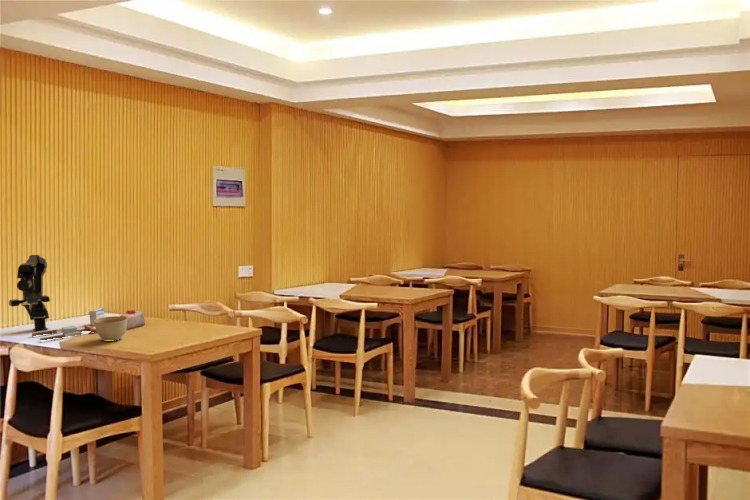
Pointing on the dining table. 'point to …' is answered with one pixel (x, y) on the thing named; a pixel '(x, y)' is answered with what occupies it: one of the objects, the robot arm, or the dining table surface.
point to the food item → (134, 319)
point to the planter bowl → (111, 327)
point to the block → (69, 330)
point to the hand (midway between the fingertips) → (30, 316)
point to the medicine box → (96, 315)
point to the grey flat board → (87, 328)
